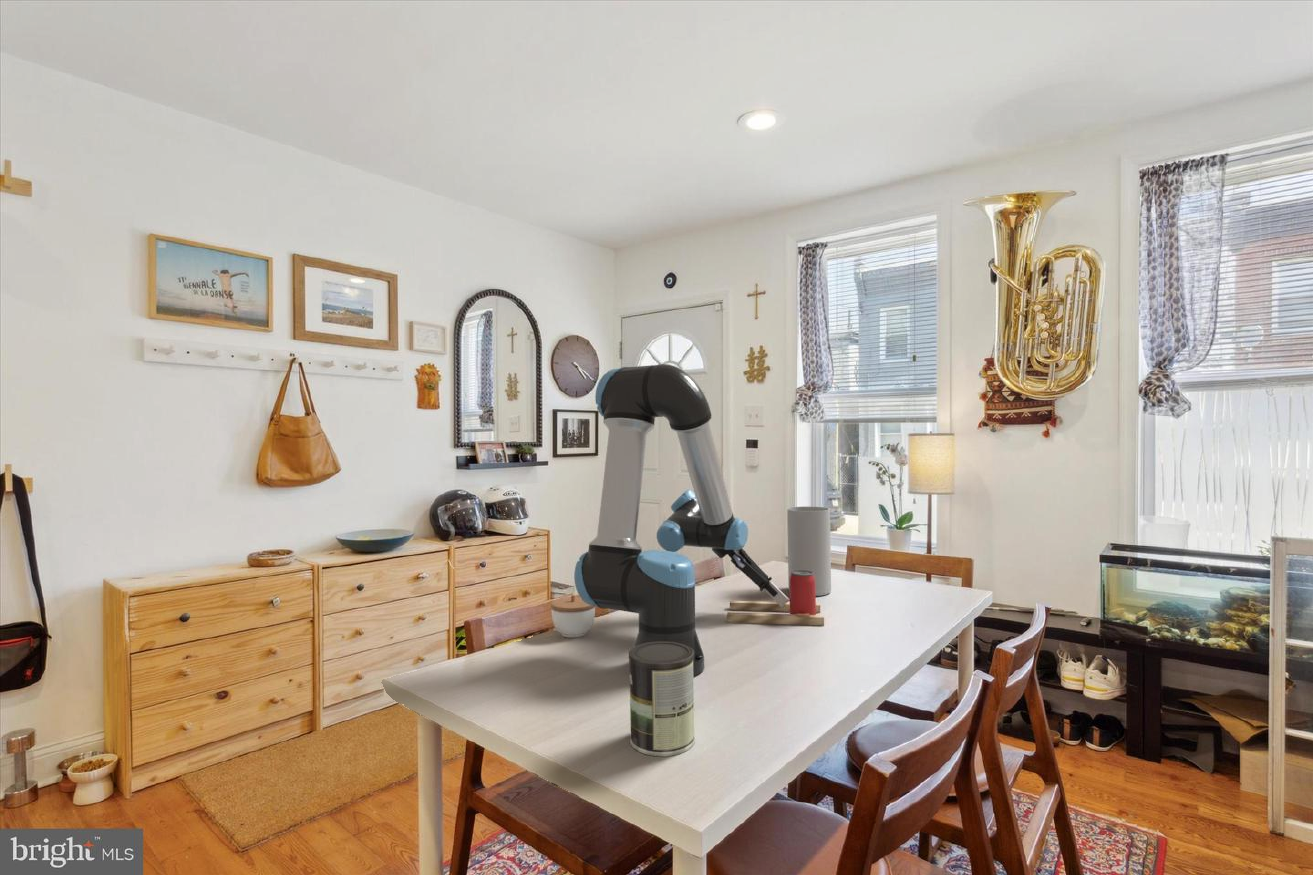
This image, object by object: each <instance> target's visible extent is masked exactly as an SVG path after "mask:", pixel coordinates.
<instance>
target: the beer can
mask: <svg viewBox="0 0 1313 875" xmlns="http://www.w3.org/2000/svg"><path fill="white" fill-rule="evenodd" d="M788 591H789V602H790V612H789V614H797V613H809V615H817V614H816V603H817V602H816V597H817V596H816V591H815V578H814V576H813V572H811V571H806V570H795V571H792V572H791V576H790V580H789V588H788Z"/></svg>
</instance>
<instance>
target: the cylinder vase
mask: <svg viewBox="0 0 1313 875" xmlns="http://www.w3.org/2000/svg"><path fill="white" fill-rule="evenodd" d="M786 511H787V512H786V514H787V516H786V517H787V518H786V519H787V573H788V574H787V576H788V577H787V578H788V583H787V585H788V589H789V580H790V576H791V572H792V571H795V570H806V571H811V572H813V576H814V578H815V591H816V597H822V596H823V597H824V596H826V595H829V594H830V593H831V591H832V565H831V564H832V562H831V556H832V555H831V554H832V553H831V508H828V507H824V506H792V507H787V509H786Z"/></svg>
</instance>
